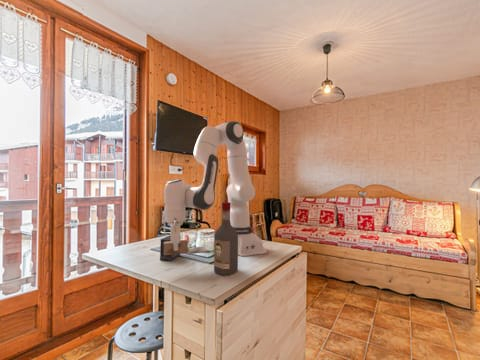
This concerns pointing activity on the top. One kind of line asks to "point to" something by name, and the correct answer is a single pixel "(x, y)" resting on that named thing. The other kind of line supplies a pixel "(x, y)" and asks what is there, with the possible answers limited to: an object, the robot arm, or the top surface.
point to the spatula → (182, 248)
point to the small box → (162, 256)
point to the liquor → (225, 245)
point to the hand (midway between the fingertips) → (175, 248)
